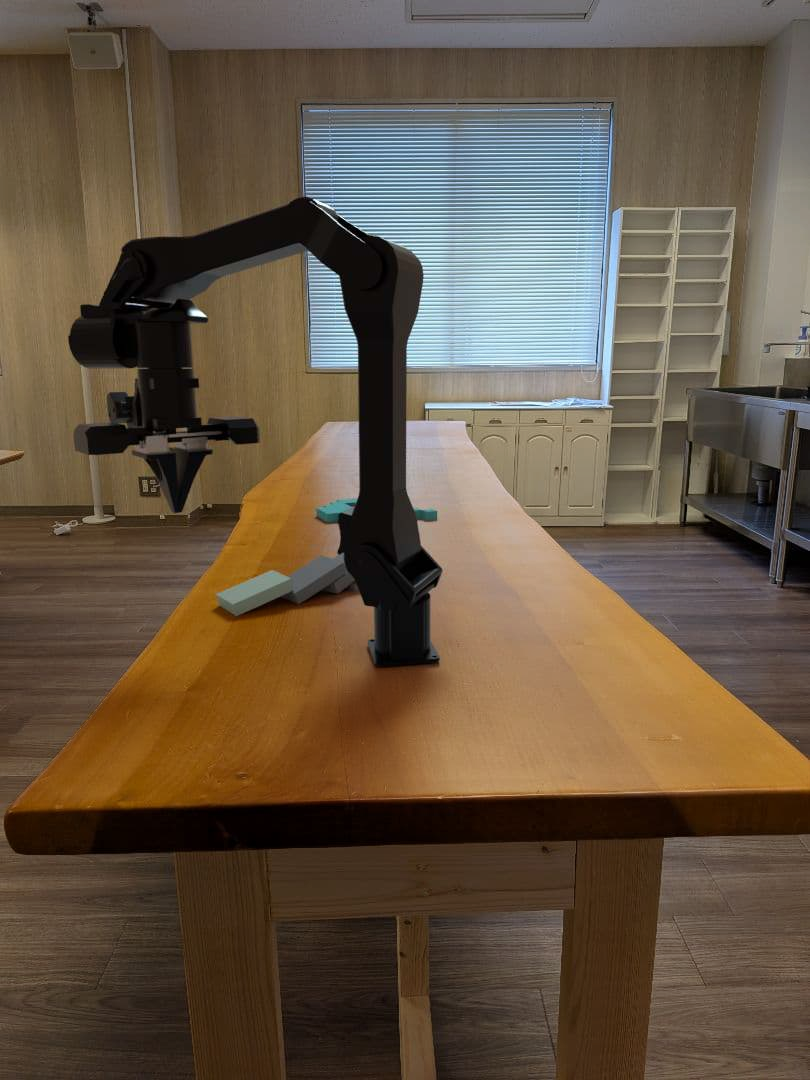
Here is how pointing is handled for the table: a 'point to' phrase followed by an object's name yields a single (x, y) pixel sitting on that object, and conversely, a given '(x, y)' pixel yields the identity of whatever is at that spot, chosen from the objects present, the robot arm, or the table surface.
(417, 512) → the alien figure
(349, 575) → the domino
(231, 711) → the table surface
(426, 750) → the table surface
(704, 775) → the table surface
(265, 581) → the sage domino
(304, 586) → the domino
